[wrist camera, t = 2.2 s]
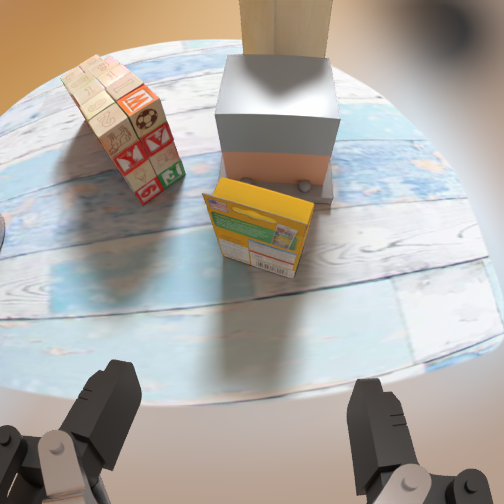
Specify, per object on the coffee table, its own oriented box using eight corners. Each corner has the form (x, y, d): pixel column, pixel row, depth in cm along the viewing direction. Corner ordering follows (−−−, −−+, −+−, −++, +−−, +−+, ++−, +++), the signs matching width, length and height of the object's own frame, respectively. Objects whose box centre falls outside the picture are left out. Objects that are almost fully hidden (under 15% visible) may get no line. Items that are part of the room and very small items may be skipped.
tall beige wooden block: (287, 71, 41) (291, -55, 21) (320, 97, 39) (339, -41, 19) (242, 89, 40) (229, -48, 20) (273, 118, 37) (274, -37, 18)
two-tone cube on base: (218, 198, 33) (199, 127, 23) (229, 119, 37) (219, 47, 27) (331, 203, 32) (355, 133, 22) (324, 122, 37) (337, 52, 26)
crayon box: (302, 252, 31) (320, 188, 20) (293, 279, 30) (309, 227, 19) (233, 229, 32) (217, 159, 21) (221, 256, 31) (199, 194, 20)
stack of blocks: (84, 119, 40) (51, 62, 28) (118, 96, 41) (90, 36, 30) (143, 207, 34) (96, 137, 22) (188, 175, 35) (159, 95, 23)
